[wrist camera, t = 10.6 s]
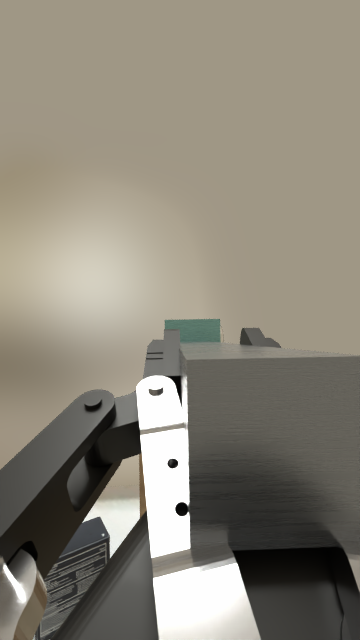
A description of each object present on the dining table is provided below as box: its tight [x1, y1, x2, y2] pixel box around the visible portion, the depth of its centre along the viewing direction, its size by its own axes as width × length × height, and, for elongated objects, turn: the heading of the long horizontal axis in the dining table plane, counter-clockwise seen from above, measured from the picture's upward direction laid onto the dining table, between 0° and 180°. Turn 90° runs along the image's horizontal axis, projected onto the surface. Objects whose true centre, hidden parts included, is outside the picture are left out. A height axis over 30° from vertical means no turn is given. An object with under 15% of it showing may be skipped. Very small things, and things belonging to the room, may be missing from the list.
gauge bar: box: [165, 319, 360, 550], centre depth 17 cm, size 26×6×5 cm, turn 1°
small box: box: [35, 517, 110, 640], centre depth 43 cm, size 11×6×10 cm, turn 121°
